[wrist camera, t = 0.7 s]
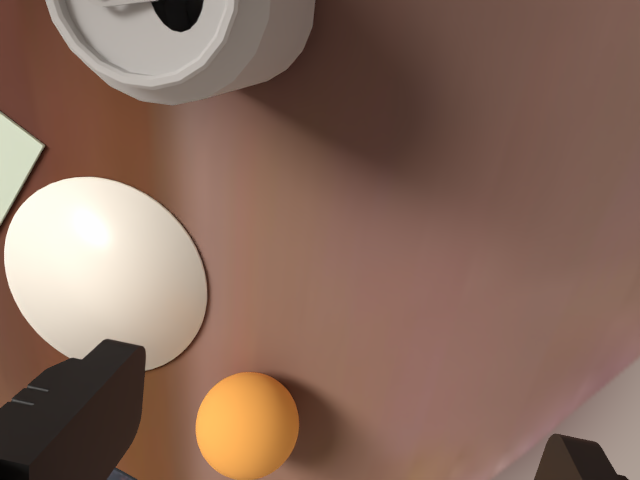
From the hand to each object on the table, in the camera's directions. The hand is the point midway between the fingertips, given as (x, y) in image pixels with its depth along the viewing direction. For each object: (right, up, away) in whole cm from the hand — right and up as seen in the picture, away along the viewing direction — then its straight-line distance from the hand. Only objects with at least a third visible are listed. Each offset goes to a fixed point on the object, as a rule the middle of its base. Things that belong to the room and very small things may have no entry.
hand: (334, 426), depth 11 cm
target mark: (-14, +1, +23) cm, 26 cm away
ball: (-5, -7, +21) cm, 23 cm away
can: (-4, +15, +17) cm, 23 cm away
